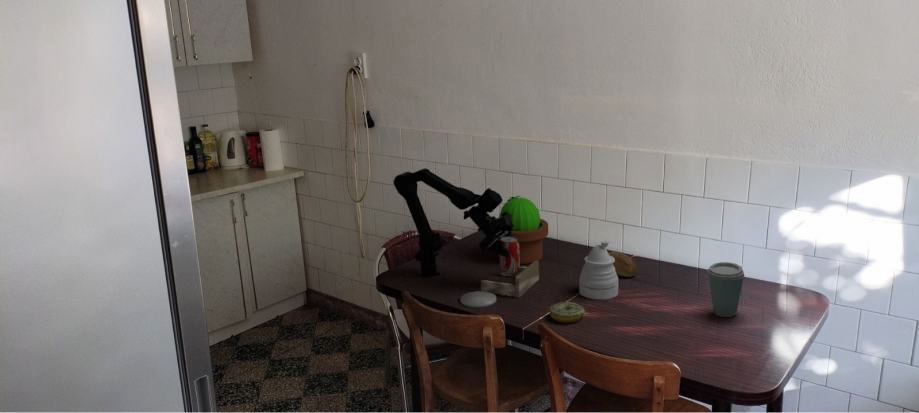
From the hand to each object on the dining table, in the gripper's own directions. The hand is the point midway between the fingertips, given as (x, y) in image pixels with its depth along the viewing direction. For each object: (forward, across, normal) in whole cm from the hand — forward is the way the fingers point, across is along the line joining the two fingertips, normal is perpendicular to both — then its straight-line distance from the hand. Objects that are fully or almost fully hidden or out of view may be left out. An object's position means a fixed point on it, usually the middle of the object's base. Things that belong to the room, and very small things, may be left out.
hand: (512, 254), depth 240 cm
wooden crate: (+7, 0, +9) cm, 12 cm away
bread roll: (+30, +24, -13) cm, 40 cm away
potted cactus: (+2, +29, +15) cm, 32 cm away
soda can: (+4, 0, +6) cm, 7 cm away
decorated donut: (+27, -18, -10) cm, 34 cm away
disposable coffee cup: (+57, +2, -41) cm, 70 cm away
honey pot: (+29, +5, -12) cm, 32 cm away
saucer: (+4, -16, +12) cm, 21 cm away
